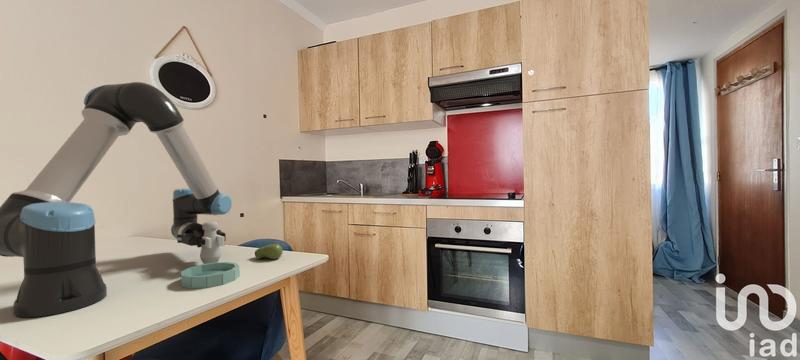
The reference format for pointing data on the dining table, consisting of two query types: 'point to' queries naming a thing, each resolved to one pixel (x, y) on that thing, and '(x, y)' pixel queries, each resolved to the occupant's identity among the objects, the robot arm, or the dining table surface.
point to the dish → (209, 275)
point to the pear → (269, 251)
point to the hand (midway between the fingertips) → (216, 242)
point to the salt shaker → (212, 253)
